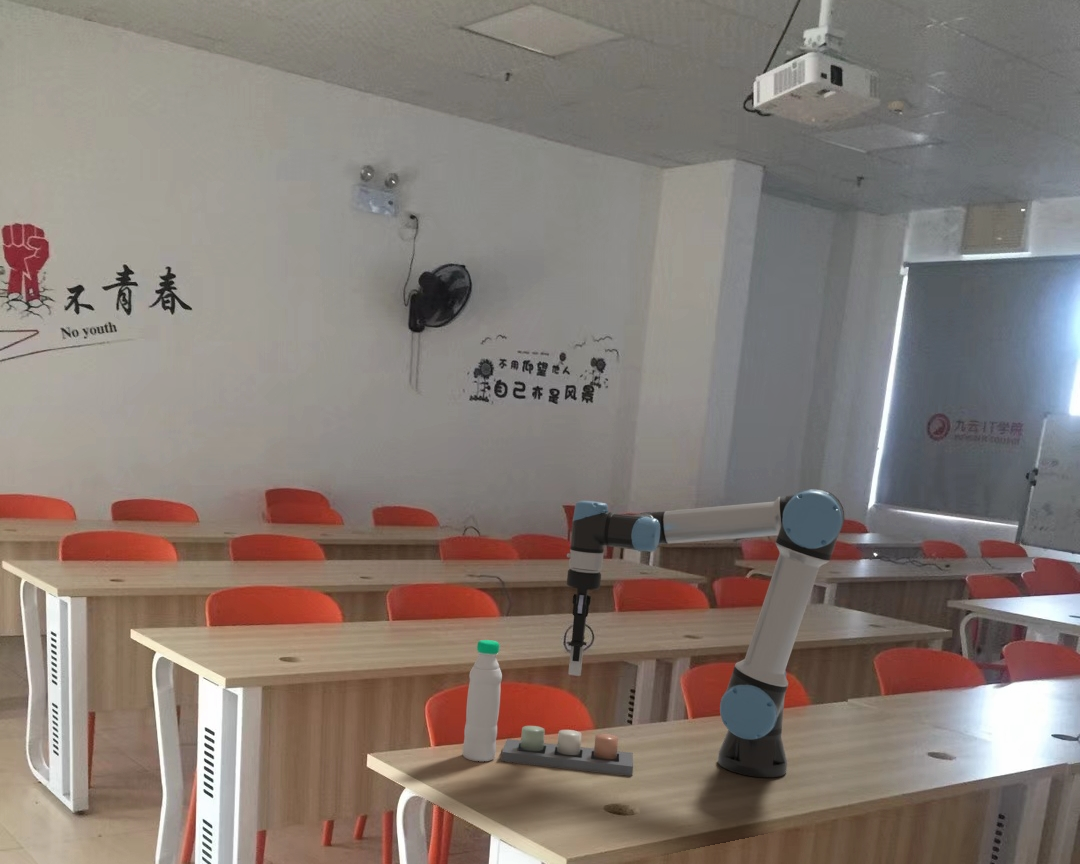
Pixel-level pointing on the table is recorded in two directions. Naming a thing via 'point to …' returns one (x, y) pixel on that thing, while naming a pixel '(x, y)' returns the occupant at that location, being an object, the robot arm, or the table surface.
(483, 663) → the water bottle
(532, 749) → the button sage
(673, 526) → the robot arm
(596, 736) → the button terracotta
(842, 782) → the table surface
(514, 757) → the panel
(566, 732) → the button ivory
